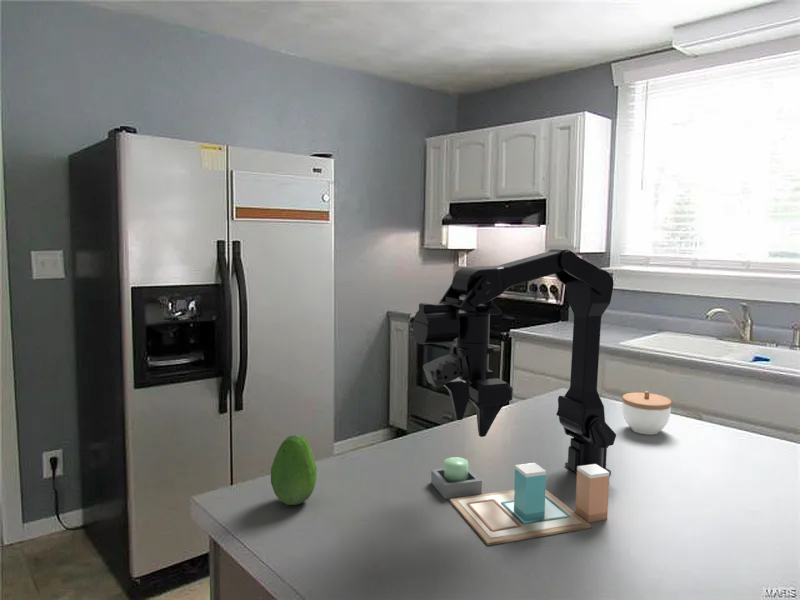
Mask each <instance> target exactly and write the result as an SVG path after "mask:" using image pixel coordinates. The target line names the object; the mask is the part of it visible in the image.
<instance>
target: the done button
mask: <svg viewBox="0 0 800 600" xmlns="http://www.w3.org/2000/svg"><path fill="white" fill-rule="evenodd" d="M443 461H444V462H443V468H444V479H445V480H447V481H449V482H448V483H451V482H459V481H466V480H468V468H469V460H467V459H466V458H465V457H464V458H463V457H458V456H457V457H453V456H452V457H451V456H450V457H448V458H445V459H444V460H443Z"/></svg>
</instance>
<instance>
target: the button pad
mask: <svg viewBox="0 0 800 600" xmlns="http://www.w3.org/2000/svg"><path fill="white" fill-rule="evenodd" d="M430 472H431V476H430V477H431V480H430V483H431V484H432V485H433V486H434V488H435V489H436V490H437V491H438V493H439V494H440V495H441V496H442V497H443V498H444V500H447V499H448V500H450V499H453V498H460V497H467V496H474V495H481V494H483V493H482V488H483V486H482V485H483V480H482V479H481V478H480V477H479V476H478V475H477V474H476V473H475V472H474V471H473V470H471V469H470V467H468V480H466V481H459V482H449V481H447V480H445V479H444V467H442V468H435V469H431V471H430Z"/></svg>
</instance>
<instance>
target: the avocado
mask: <svg viewBox="0 0 800 600" xmlns="http://www.w3.org/2000/svg"><path fill="white" fill-rule="evenodd" d="M317 473H318V469H317V463H316V461H315V458H314V454H313V450H312V448H311V444H310V442H309V441H308V439H307V437H306V436H304V435H301V434H293V435H290V436H287V437H286V438H285V439H284V440H283V441H282V443H281V444H280V446H279V448H278V449H277V451H276V454H275V456H274V458H273V462H272V465H271V468H270V484H271V487H272V490H273V493H274V495H275V496H276V498H278V500H279V501H280V502H282V504H285V505H287V506H298V505H300V504H301V503H304V502H305V501H307V500H309V498H310V497H311V495H312V493H313V492H314V490H315V488H316V483H317V477H318V474H317Z"/></svg>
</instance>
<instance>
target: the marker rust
mask: <svg viewBox="0 0 800 600" xmlns="http://www.w3.org/2000/svg"><path fill="white" fill-rule="evenodd" d="M575 484H576V485H575V486H576V487H575V508H574V509H575V511H574V512H575V513H576V514H577V515H579V516H580V517H581V518H582V519H584V520H585V521H586V522H587V523H593V522H598V521H603V520H608V509H609V508H608V507H609V492H610V491H609V490H610V489H609V487H610V474H609V472H608V471H607V470H605V469H603V468H602V467H600V466H598V465H597V464H591V465H583V466H577V473H576V483H575Z"/></svg>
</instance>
